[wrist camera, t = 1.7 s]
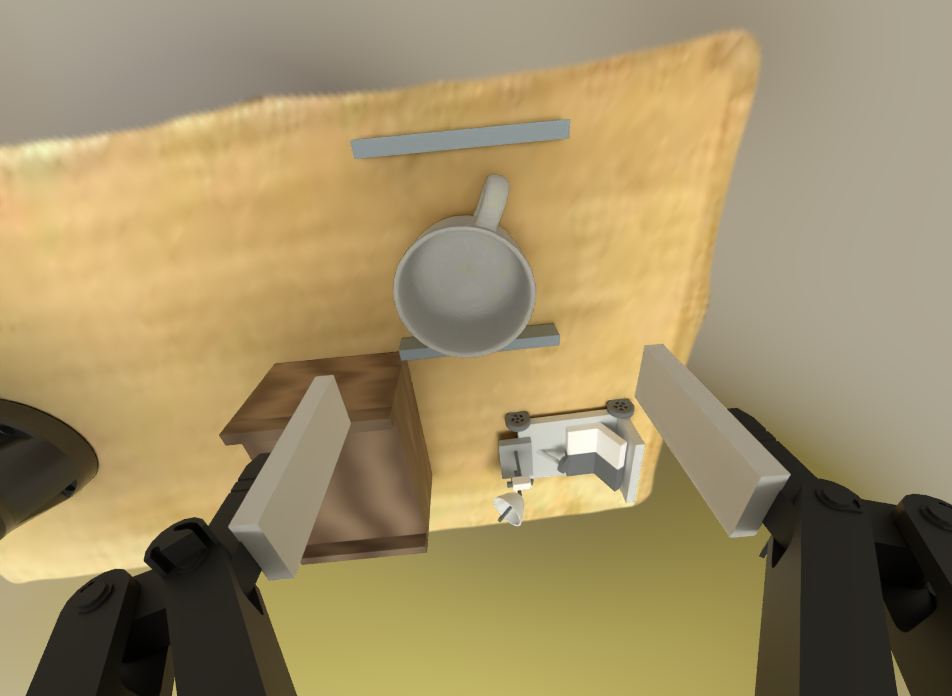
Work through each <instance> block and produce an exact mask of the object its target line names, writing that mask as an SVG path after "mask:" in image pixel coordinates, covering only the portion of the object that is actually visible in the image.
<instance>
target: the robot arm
mask: <svg viewBox="0 0 952 696" xmlns="http://www.w3.org/2000/svg"><path fill="white" fill-rule="evenodd" d="M635 398H636V399H637V401H638V402H639V404H640V405H641V407H642V408H643V410H644V411H645V413H646V414H647V416H648V417H649V419H650V420H651V422H652V423H653V425H654V426H655V428H656V429H657V431H658V432H659V433H660V435H661V436H662V438H663V439H664V441H665V442H666V444H667V445H668V447H669V448H670V450H671V451H672V452H673V454H674V456H675V457H676V458H677V460H678V461H679V463H680V465H681V466H682V467H683V469H684V470H685V472H686V473H687V475H688V476H689V478H690V479H691V481H692V482H693V484H694V485H695V487H696V488H697V490H698V491H699V493H700V494H701V496H702V497H703V498H704V500H705V501H706V503H707V504H708V506H709V507H710V509H711V510H712V512H713V513H714V515H715V516H716V518H717V519H718V521H719V522H720V524H721V525H722V527H723V528H724V530H725V531H726V533H727V534H728V536H729V537H730V538H732V537H743V536H754V535H756V534H757V532H758V530H759V528H760V527H761V525H762V523H763V524H764V525H765V527H766V528H767V529H768V530H769V532H770V533H771V534H772V535H771V536H770V538H769V540H768V541H767V543H766V545H765V546H764V548H763V549H762V551H761V553H760V555H759V556H760V557H762V558H764V557H765V555H766V554H767V560H766V571H765V583H764V595H763V606H762V607H763V608H762V618H761V630H760V641H759V652H758V664H757V676H756V687H755V696H898V693H897V687H896V681H895V674H894V667H893V661H892V654H891V651H892V653H893V655H894V658H895V660H896V662H897V665H898V667H899V669H900V672H901V674H902V676H903V679H904V681H905V683H906V686H907V688H908V690H909V693H910V695H911V696H952V505H951V504H949V503H946V502H945V501H942V500H940V499H937V498H934V497H930V496H927V495H920V494H911V495H906V496H905V497H904V498H903V499H902V500H901V501H900V502H899V504H898V505H893V504H887V503H881V502H875V501H870V500H864V499H861V498H860V497H859V496H858V495H856V494H855V493H853V492H852V491H850V490H849V489H847V488H846V487H844V486H842V485H839V484H837V483H835V482H832V481H828V480H824V479H818V478H817V477H815V476H814V475H813V474H812V473H811V472H810V471H809V470H808V469H807V468H806V467H805V466H804V465H803V464H802V463H801V462H800V461H799V460H798V459H797V458H796V457H795V456H793V455H792V454H791V453H790V452H789V451H788V450H787V449H786V448H785V447H784V446H783V445H782V444H781V443H780V442H779V441H776V438H775V437H774V436H773V435H772V434H770V433H769V432H768V431H766V429H765V428H764V427H763V426H762V425H761V424H760V423H759V422H758V421H757V420H756V419H755V418H754V417H752V416H750V415H749V414H747V413H745V412H743V411H742V410H740V409H738V408H731V409H726V408H725V407H724V406H723V405H722V404H721V403H720V402H719V401H718V400H717V399H716V398H715V397H714V396H713V395H712V393H710V392H709V391H708V389H707V388H706V387H705V386H704V385H703V384H702V383H701V382H700V381H699V380H698V379H697V378H696V377H695V376H694V375H693V374H692V373H691V372H690V371H689V370H688V369H687V368H686V367H685V366H684V365H683V364H682V363H681V362H680V361H679V360H678V359H677V358H676V357H675V356H674V355H673V354H672V353H671V352H670V351H669V350H668V349H667V348H666V347H665V346H664V345H663V344H656V345H645V346H644V352H643V357H642V362H641V367H640V372H639V377H638V382H637V387H636V392H635ZM350 425H351V422H350V419H349V417H348V414H347V411H346V408H345V405H344V403H343V400H342V397H341V394H340V392H339V389H338V386H337V383H336V380H335V378H334V375H327V376H317V377H315V378H314V380H313V382H312V383H311V385H310V387H309V388H308V390H307V392H306V394H305V395H304V397H303V399H302V400H301V402H300V404H299V406H298V407H297V409H296V411H295V413H294V414H293V416H292V418H291V419H290V421H289V423H288V425H287V426H286V428H285V430H284V431H283V433H282V435H281V437H280V438H279V440H278V442H277V443H276V445H275V447H274V449H273V450H272V452H270V453H260V454H259V455H258V456H257V457H255V458H254V459H253V460H252V461H251V462H250V463H249V464H248V465H247V466H246V467H245V469H244V471H243V472H242V474H241V475H240V477H239V478H238V482H236V483H235V485H234V486H233V488H232V489H231V493H229V494H228V496H227V497H226V499H225V501H224V502H223V504H222V505H221V507H220V508H219V510H218V512H217V513H216V515H215V516H214V518H213V519H212V521H211V523H210V524H209V526H208V525H207V524H206V523H205V522H204V520H203V519H200V518H196V517H194V518H188V519H184V520H182V521H179V522H177V523H175V524H173V525H171V526H170V527H169V528H167V529H166V530H164V531H163V532H161V533H160V534H159V535H158V536H157V537H156V538H155V539H154V540H153V541H152V543H151V544H150V546H149V547H148V549H147V550H146V552H145V556H144V562H145V563H146V564H147V565H148V566H149V567H151V568H152V570H150V571H147V572H144V573H142V574H139V575H137V576H134V577H132V576H131V575H130V574H129V573H128V572H127V571H125V570H124V569H114V570H110V571H107V572H104V573H102V574H100V575H99V576H97V577H95V578H93V579H91V580H90V581H89V582H87V583H86V584H85V585H83V586H82V587H81V588H80V589H78V590H77V591H76V592H75V594H74V595H73V596H72V597H71V598H70V599H69V600H68V601H67V603H66V604H65V606H64V608H63V609H62V611H61V612H60V615H59V617H58V619H57V622H56V624H55V627H54V629H53V632H52V634H51V636H50V639H49V641H48V643H47V646H46V648H45V651H44V653H43V655H42V658H41V660H40V663H39V665H38V667H37V670H36V672H35V675H34V677H33V680H32V682H31V684H30V687H29V689H28V691H27V694H26V696H172V690H173V684H174V677H175V682H176V690H177V696H297V694H296V691H295V689H294V686H293V683H292V680H291V677H290V674H289V672H288V669H287V666H286V663H285V660H284V658H283V655H282V652H281V649H280V646H279V643H278V641H277V638H276V635H275V632H274V629H273V627H272V624H271V621H270V618H269V615H268V613H267V610H266V607H265V604H264V601H263V598H262V596H261V593H260V590H259V588H258V587H257V586H256V584H255V583H256V582H257V579H258V577H259V575H260V573H261V570H262V572H263V573H264V574H265V576H266V577H267V578H268V580H279V579H290V578H295V575H296V572H297V570H298V567H299V564H300V562H301V559H302V556H303V553H304V551H305V548H306V545H307V542H308V540H309V537H310V534H311V531H312V529H313V526H314V523H315V520H316V518H317V515H318V512H319V509H320V507H321V504H322V501H323V499H324V496H325V493H326V490H327V488H328V485H329V482H330V479H331V477H332V474H333V471H334V468H335V466H336V463H337V460H338V457H339V455H340V452H341V449H342V446H343V444H344V441H345V438H346V436H347V433H348V430H349V427H350ZM97 467H98V465H97V459H96V456H95V454H94V452H93V451H92V449H91V448H90V446H89V445H88V444H87V443H86V441H85V440H84V439H83V438H82V437H80V436H79V435H78V434H77V433H76V432H75V431H73V430H72V429H71V428H69V427H68V426H66V425H65V424H63V423H62V422H60V421H58V420H56V419H55V418H53V417H51V416H49V415H47V414H44V413H42V412H40V411H38V410H35V409H32V408H30V407H27V406H24V405H20V404H17V403H13V402H9V401H4V400H0V540H1V539H2V538H3V537H5V536H6V535H7V534H8V533H9V532H11V531H12V530H14V529H15V528H17V527H19V526H21V525H23V524H24V523H26V522H28V521H30V520H31V519H33V518H35V517H37V516H39V515H40V514H42V513H44V512H46V511H47V510H49V509H51V508H53V507H54V506H56V505H58V504H60V503H62V502H63V501H65V500H67V499H69V498H70V497H72V496H73V495H75V494H76V493H77V492H79V491H80V490H81V489H82V488H83V487H84V486H85V485H86V484H87V483H88V482H89V481H90V480H91V479H92V478H93V477H94V476H95V474H96V472H97Z"/></svg>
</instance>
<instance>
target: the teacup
mask: <svg viewBox="0 0 952 696" xmlns="http://www.w3.org/2000/svg"><path fill="white" fill-rule="evenodd" d="M508 193H509V181H508V180H507V179H506V178H505V177H503V176H500V175H496V174H493V175H489V176H488V178H487V179H486V182H485V184H484V187H483V190H482V193H481V196H480V199H479V202H478V205H477V208H476V211H475V213H474V215H473V216H469V215H462V216H454V217H449V218H446V219H443V220H441V221H438V222H437V223H435V224H433V225H432V226H430V227H429V228H428V229H427V230H425V231H424V232H423V233H422V234H421V235H420V236H419V237H418V238H417V240H416V241H415V242H414V243H413V245H412V246H411V247H409V248H408V250H407V251H406V252H405V254H404V256H403V257H402V259H401V261H400V263H399V265H398V268H397V270H396V273H395V277H394V284H393V292H394V302H395V305H396V309H397V312H398V314H399V317H400V319H401V320H402V322H403V324H404V325H405V327H406V328H407V329H408V331H409V332H410V333H411V334H412V335H413V336H414V337H415V338H417V339H418V340H419V341H420V342H421V343H423V344H425V345H426V346H428V347H429V348H431V349H433V350H435V351H437V352H440V353H442V354H445V355H450V356H455V357H463V358H465V357H479V356H483V355H488V354H490V353H494V352H495V351H498V350H500V349H502V348H503V347H505V346H507V345H508V344H510V343H511V342H512V341H513V340H515V339H516V338H517V337H518V336H519V335H520V334H521V332H522V331H523V330H524V329H525V327H526V325H527V324H528V322H529V320H530V318H531V316H532V313H533V310H534V305H535V299H536V297H535V296H536V284H535V280H534V277H533V273H532V270H531V268H530V265H529V263H528V261H527V260H526V258H525V257H524V255H523V253H522V251H521V250H520V248H519V246H518V245H517V243H516V241H515V240H514V239H513V238H512V236H511V235H510V234H509V233H508V232H507V231H505V230H504V229H503V228H502V227H500V226H499V225H498V224H499V222H500V219H501V217H502V214H503V211H504V208H505V205H506V202H507V197H508Z"/></svg>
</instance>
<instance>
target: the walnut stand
mask: <svg viewBox="0 0 952 696" xmlns="http://www.w3.org/2000/svg"><path fill="white" fill-rule="evenodd" d="M327 375H334V378H335V380H336V383H337V386H338V389H339V392H340V394H341V397H342V400H343V403H344V405H345V408H346V411H347V414H348V417H349V419H350V422H351V425H350V427H349V430H348V433H347V436H346V438H345V441H344V444H343V446H342V449H341V452H340V455H339V457H338V460H337V463H336V466H335V468H334V471H333V474H332V477H331V479H330V482H329V485H328V488H327V490H326V493H325V496H324V499H323V501H322V504H321V507H320V509H319V512H318V515H317V518H316V520H315V523H314V526H313V529H312V531H311V534H310V537H309V540H308V542H307V545H306V548H305V551H304V553H303V556H302V559H301V562H300V563H301V564H302V565H304V564H315V563H326V562H336V561H346V560H356V559H366V558H376V557H386V556H396V555H406V554H416V553H426V552H427V547H428V531H429V516H430V501H431V486H432V472H431V467H430V462H429V458H428V453H427V449H426V444H425V440H424V435H423V431H422V426H421V422H420V417H419V413H418V408H417V404H416V399H415V395H414V390H413V386H412V381H411V377H410V372H409V368H408V363H407V360H404V361H401V358H400V354H399V352H391V353H381V354H370V355H360V356H350V357H340V358H329V359H319V360H309V361H299V362H288V363H278V364H274V366H273V367H272V368H271V369H270V371H269V372H268V373H267V375H266V376H265V377H264V378H263V380H262V381H261V382H260V383H259V385H258V386H257V387H256V389H255V390H254V391H253V392H252V394H251V395H250V396H249V398H248V399H247V400H246V401H245V403H244V404H243V405H242V406H241V408H240V409H239V410H238V412H237V413H236V414H235V415H234V417H233V418H232V419H231V421H230V422H229V423H228V424H227V426H226V427H225V428H224V430H223V431H222V432H221V433H220V435H219V436H220V437H221V439H222V441H223V442H224V444H225V445H236V444H242V445H243V446H244V448H245V450H246V451H247V453H248V455H249V456H250V458H251V460H253V459H254V458H255V457H257V456H258V455H259V454H260V453H270V452H272V450H273V449H274V447H275V445H276V443H277V442H278V440H279V438H280V437H281V435H282V433H283V431H284V430H285V428H286V426H287V425H288V423H289V421H290V419H291V418H292V416H293V414H294V413H295V411H296V409H297V407H298V406H299V404H300V402H301V400H302V399H303V397H304V395H305V394H306V392H307V390H308V388H309V387H310V385H311V383H312V382H313V380H314V378H315V377H317V376H327Z"/></svg>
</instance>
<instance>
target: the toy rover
mask: <svg viewBox="0 0 952 696" xmlns="http://www.w3.org/2000/svg"><path fill="white" fill-rule="evenodd" d="M633 413H634V405H633V403H632V402H630V401H629V400H627V399H617V400H610V401H609V402H608V404H607V409H604V410H595V411H587V412H579V413H571V414H563V415H555V416H547V417H539V418H531V419H530V416H529V414H528V413H526V412H524V411H521V412H517V413H508V414H507V415H506V418H505V423H506V426H507V428H508V429H509V430H511V431H514V432H518V438H514V439H506V440H498V447H499V455H500V463H501V471H502V479H507V478H511V482H507V486H508V488H509V487H513V491H517V490H518V493H507V494H504V495H501V496H498V497H496V498H494V505H495V508H496V509H497V511H498V512H499V514H500V515H501V516H500V518H499V519H498V521H499V522H501V521H502V520H503V519H505V520H506V521H508V522H509V523H511V524H512V525H515V526H520V525H521V522H522V517H523V511H524V501H523V498H522V494H521V490H526V489H531V486H532V484H533V481H534V480H533V479H536V478H544V477H552V476H561V475H567V476H574V475H582V474H590V473H594V474H595V475H597V476H598V477H599V478H600V479H601V480H602V481H603V482H604V483H606V484H607V485H608V486H609V487H610V488H611V489H612V490H613V491H616V490H618V489H619V488H620V490H621V492H622V494H623V497H624V499H625V501H626V503H628V502H635V496H636V491H637V486H638V480H639V475H640V469H641V464H642V459H643V453H644V448H645V443H644V441H643V440H642V438H641V436H640V435H639V433H638V432H637V430H636V428H635V427H634V425H633V423H632V422H631V420H630V417H631V416H632V415H633Z"/></svg>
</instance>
